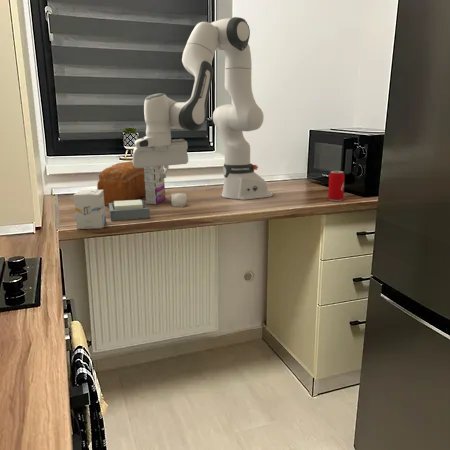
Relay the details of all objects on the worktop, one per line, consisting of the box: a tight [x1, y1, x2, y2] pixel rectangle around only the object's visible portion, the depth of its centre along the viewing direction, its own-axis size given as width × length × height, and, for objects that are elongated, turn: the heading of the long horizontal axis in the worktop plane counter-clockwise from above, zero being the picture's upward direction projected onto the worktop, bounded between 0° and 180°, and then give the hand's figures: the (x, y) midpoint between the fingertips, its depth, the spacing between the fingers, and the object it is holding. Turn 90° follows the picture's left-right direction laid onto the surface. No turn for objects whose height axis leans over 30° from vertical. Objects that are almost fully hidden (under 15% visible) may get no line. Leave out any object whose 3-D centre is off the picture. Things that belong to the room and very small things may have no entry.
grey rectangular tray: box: [108, 200, 151, 222], centre depth 166 cm, size 14×14×4 cm
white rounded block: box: [170, 192, 187, 208], centre depth 181 cm, size 6×6×4 cm
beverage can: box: [327, 170, 346, 202], centre depth 186 cm, size 6×6×12 cm
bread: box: [96, 160, 146, 207], centre depth 191 cm, size 14×26×16 cm, turn 168°
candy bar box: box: [144, 166, 166, 205], centre depth 186 cm, size 11×5×16 cm, turn 168°
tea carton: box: [114, 199, 143, 210], centre depth 165 cm, size 10×9×5 cm
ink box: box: [73, 189, 107, 230], centre depth 151 cm, size 9×8×12 cm
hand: (162, 178), depth 167 cm, fingers closed
